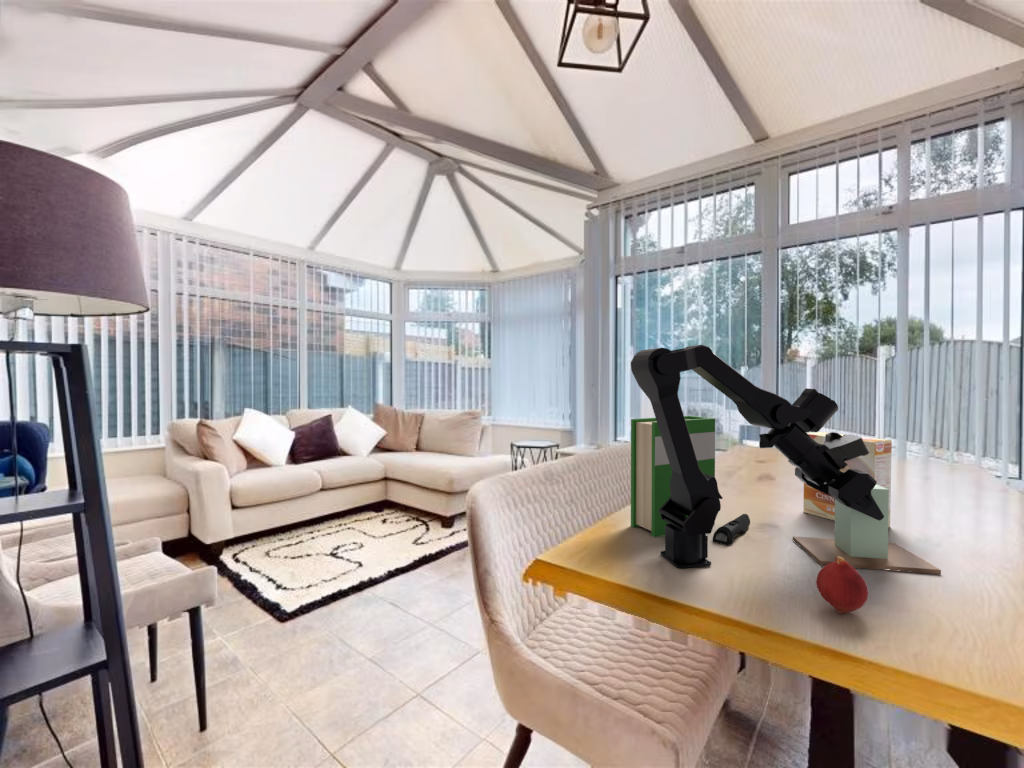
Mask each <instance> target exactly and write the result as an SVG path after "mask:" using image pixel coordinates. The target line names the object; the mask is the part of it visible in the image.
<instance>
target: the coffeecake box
mask: <svg viewBox="0 0 1024 768" xmlns="http://www.w3.org/2000/svg"><path fill="white" fill-rule="evenodd" d="M806 433H807V434H808V435H809V436H810V437H811V438H812V439H814V440H815V441H816V442H817V443H819V444H824V442H825V437H826V434H828V433H829V432H824V431H818V432H806ZM839 434H840V435H841V436H843V435H844V434H843V433H839ZM860 437H861V438H862V440H863V442H864V444H865V446H866V447H867V449H868V451H869V454H867V455H865V456H859V457H856V458H853V459H851V460H848V461H844V462H845V463H847V464H848V465H847V466H846V467H845V468H843V469H840V471H841V472H844V473H845V472H846V471H847V470H848V469H857V470H860V471H863V472H865V473H868V474H869V475H870V476H871V477H872V478H873V479H874V480H876V481H877V483H876V484H877V485H879V486H882V487H884V488H886V489H889V511H888V528H890V527H891V507H892V506H891V503H892V502H891V501H892V499H891V498H892V495H891V494H892V491H891V490H892V448H893V447H892V444H893V443H892V439H886V438H885V439H884V438H876V437H875V438H874V437H867V436H860ZM807 480H808V479H807ZM802 512H803V513H806V514H809V515H813V516H817V517H820V518H824V519H828V520H831V521H834V522H835V498H834V497H832V496H829V495H827V494H825V493H823V492H821V491H819V490H817V489H814V488H812V487H810V486H809V485H807V484H806V483H804V482H803V511H802Z"/></svg>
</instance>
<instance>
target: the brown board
mask: <svg viewBox="0 0 1024 768" xmlns="http://www.w3.org/2000/svg"><path fill="white" fill-rule="evenodd" d="M793 540H794V541H795V542H796V543H797V544H798V546H799V545H800V546H801V547H802V548H803V549H804V550H805V551H806V552H807V553H806V552H805V551H804V550H803V549H802V548H801V547H800V546H799V547H800V548H801V549H802V550H803V551H804V552H805V553H806V554H808V555H809V556H810V557H811V558H812V557H813V558H814V559H815V560H816V561H815V560H814V559H813V558H812V559H813V560H814V561H815V562H817V564H819V565H820V566H824V565H827V564H829V563H832V562H835V561H836V559H835V557H838V556H840V557H843V558H844V559H845V560H846V562H847V563H848V564H850V565H851V566H852V567H856V568H855V569H862V568H867V569H866V570H875V569H890V570H900V571H899V572H901V571H911V572H910V573H914V572H920V573H919V574H926V573H931V574H930V575H939V574H942V569H940V568H939V567H937V566H935V565H933V564H932V563H930V562H927V561H926V560H925V559H923V558H921V557H920V556H918V555H916V554H914V553H913V552H910V550H907V548H904V547H903V546H901V545H899V544H897V543H896V542H888V559H879V558H866V557H853V556H849V555H848V554H847V553H846V552H844V551H843V550H842V549H840V548H839V547H838V546H836V545H835V538H822V537H809V536H808V537H807V536H794V535H793V536H792V541H793ZM794 541H793V542H794ZM795 542H794V543H795ZM796 543H795V544H796Z"/></svg>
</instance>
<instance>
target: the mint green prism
mask: <svg viewBox="0 0 1024 768" xmlns="http://www.w3.org/2000/svg"><path fill="white" fill-rule="evenodd" d="M871 495H872V496H873V498H874V500H875V502H876V504H877V505H878V507H879V509H880V510H881V512H882V513H883V515H884V518H883V519H882V520H880V521H879V520H876V519H874V518H872V517H870V516H868V515H865V514H863V513H861V512H859V511H856V510H854V509H852V508H850V507H847V506H845V505H843V504H841V503H840V502H838V501H837V500H836V499H835V521H834V539H835V545H836V546H838V547H839V548H840V549H842V550H843V551H844V552H846V553H847V554H848V555H849V556H853V557H866V558H879V559H888V543H889V527H888V511H889V489H886V488H884V487H882V486H879V485H877V484H876V485H875V487H874V488H873V489H872V491H871Z"/></svg>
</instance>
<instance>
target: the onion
mask: <svg viewBox="0 0 1024 768" xmlns="http://www.w3.org/2000/svg"><path fill="white" fill-rule="evenodd" d="M835 559H836V561H835V562H832V563H829V564H827V565H825V566H824V565H823V566H822V567H821V568H820V569H819V571H818V573H817V576H816V580H815V585H816V589H817V591H818V593H819V595H820V596H821V597H822V598H823V600H824V601H825V602H826V603H827V604H829V605H830V606H831V607H832V608H833V609H834V610H835V611H836V612H837V613H839V614H847V613H852V612H854V611H857V610H860V609H861V608H863V606H864V605H865V604H866V602H867V601H868V596H869V589H868V585H867V582H866V580H865V579H864V577H863V576H862V575H861V573H859V571H858V570H857V568H854V567H852V566H851V565H850V564H848V563H847V562H846V560H845V559H844V558H843V557H840V556H838V557H835Z"/></svg>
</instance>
